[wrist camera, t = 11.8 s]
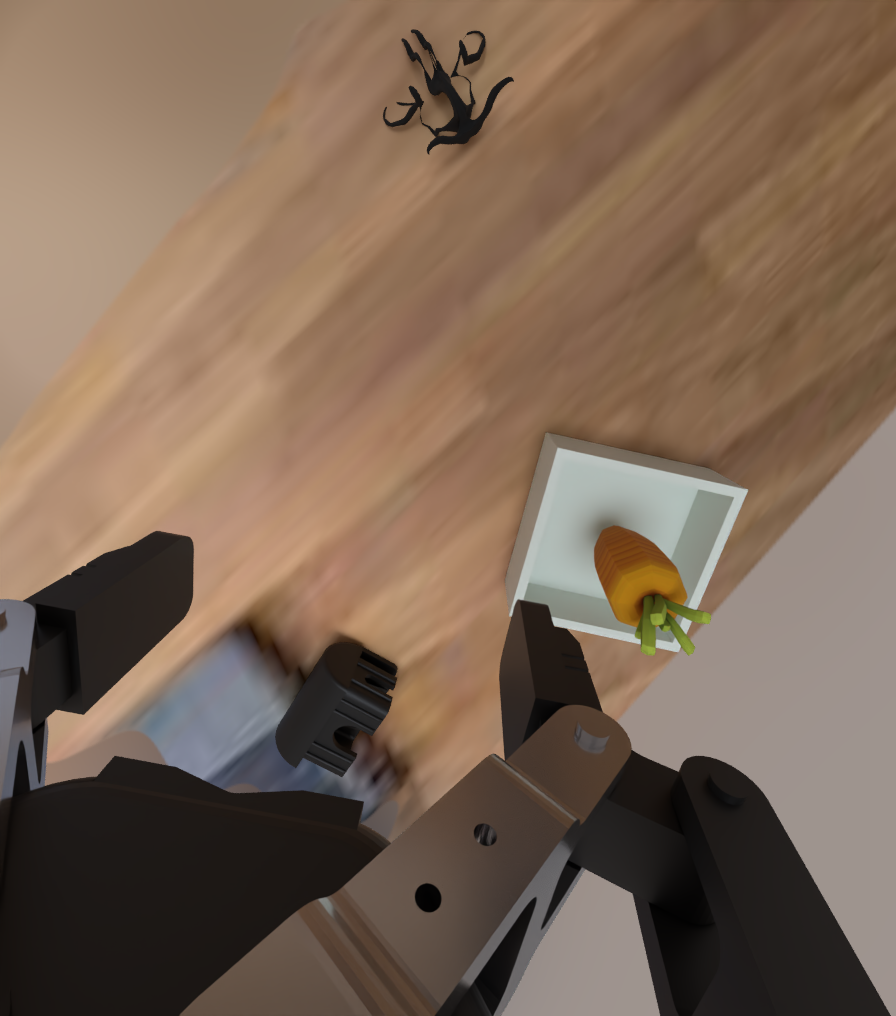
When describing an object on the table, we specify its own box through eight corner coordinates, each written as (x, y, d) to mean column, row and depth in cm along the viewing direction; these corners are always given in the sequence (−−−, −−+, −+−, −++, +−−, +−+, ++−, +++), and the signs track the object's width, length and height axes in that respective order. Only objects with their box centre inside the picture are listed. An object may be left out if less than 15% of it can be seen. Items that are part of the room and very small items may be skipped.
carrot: (641, 501, 40) (727, 598, 26) (637, 557, 41) (716, 677, 27) (577, 504, 40) (629, 600, 26) (576, 559, 42) (624, 678, 28)
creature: (367, 97, 34) (430, 196, 34) (335, 36, 29) (411, 152, 29) (461, 10, 32) (528, 115, 32) (446, -72, 27) (526, 53, 27)
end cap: (336, 626, 46) (314, 672, 40) (402, 662, 47) (390, 713, 41) (290, 700, 49) (263, 753, 43) (353, 732, 50) (335, 789, 44)
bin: (545, 432, 40) (557, 447, 34) (709, 468, 40) (748, 489, 34) (504, 580, 44) (509, 615, 38) (652, 612, 44) (678, 652, 38)
